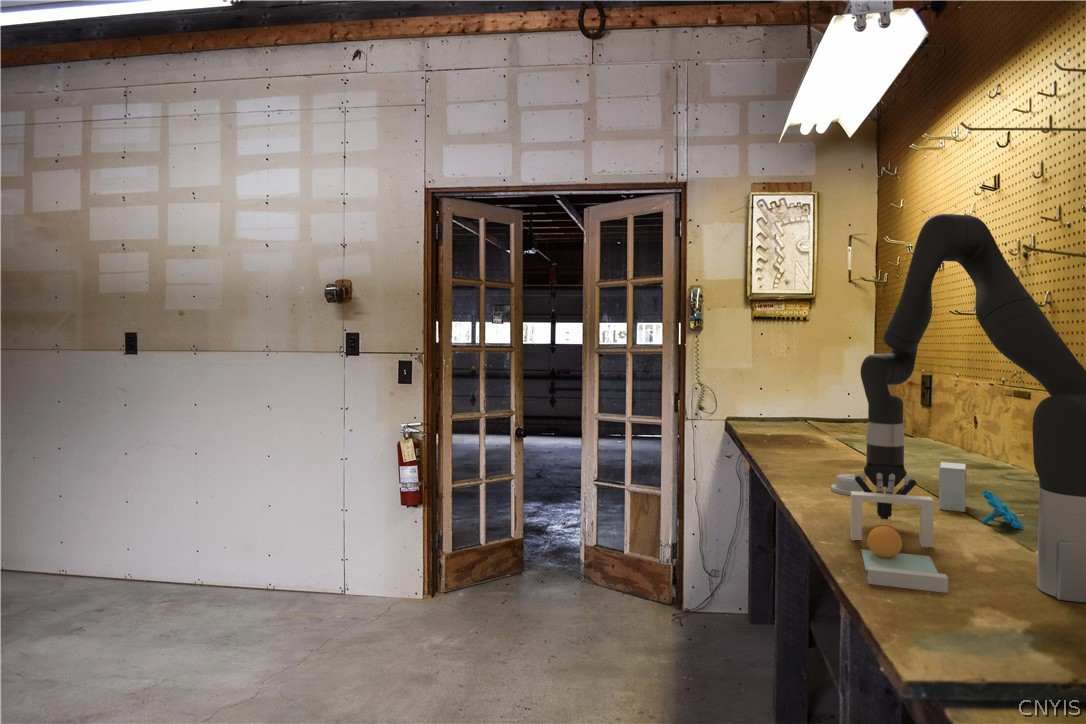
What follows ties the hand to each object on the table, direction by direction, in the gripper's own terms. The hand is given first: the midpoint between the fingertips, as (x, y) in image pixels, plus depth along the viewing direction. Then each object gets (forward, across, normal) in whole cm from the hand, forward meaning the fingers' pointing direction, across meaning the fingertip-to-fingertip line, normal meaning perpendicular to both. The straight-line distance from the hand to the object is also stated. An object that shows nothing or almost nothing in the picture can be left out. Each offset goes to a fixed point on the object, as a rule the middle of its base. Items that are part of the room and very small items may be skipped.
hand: (884, 518), depth 152 cm
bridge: (+2, 0, -13) cm, 13 cm away
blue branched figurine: (+2, +24, +8) cm, 26 cm away
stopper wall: (+2, 0, -39) cm, 39 cm away
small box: (+2, +17, +22) cm, 28 cm away
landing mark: (+2, 0, -27) cm, 27 cm away
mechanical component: (+2, -5, +32) cm, 32 cm away
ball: (-2, -2, -24) cm, 24 cm away
